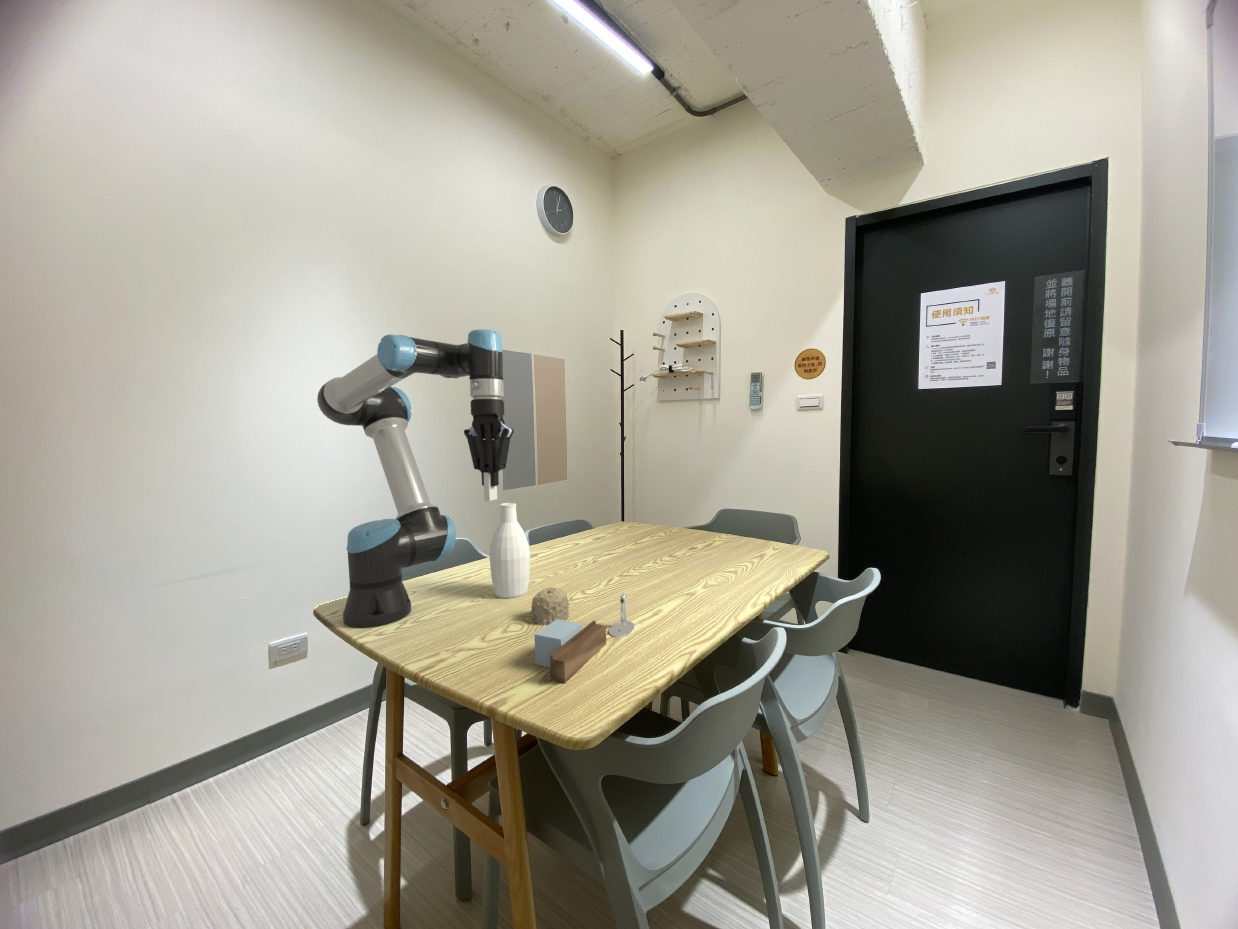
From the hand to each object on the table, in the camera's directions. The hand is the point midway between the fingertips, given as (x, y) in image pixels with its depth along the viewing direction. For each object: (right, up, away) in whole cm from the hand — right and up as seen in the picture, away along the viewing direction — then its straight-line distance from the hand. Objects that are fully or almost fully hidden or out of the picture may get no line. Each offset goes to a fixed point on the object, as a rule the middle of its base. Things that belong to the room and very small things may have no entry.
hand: (490, 499), depth 111 cm
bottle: (0, -28, +22) cm, 36 cm away
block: (+18, -30, -17) cm, 39 cm away
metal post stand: (+31, -29, -4) cm, 43 cm away
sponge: (+13, -29, +4) cm, 32 cm away
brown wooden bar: (+23, -30, -18) cm, 42 cm away
